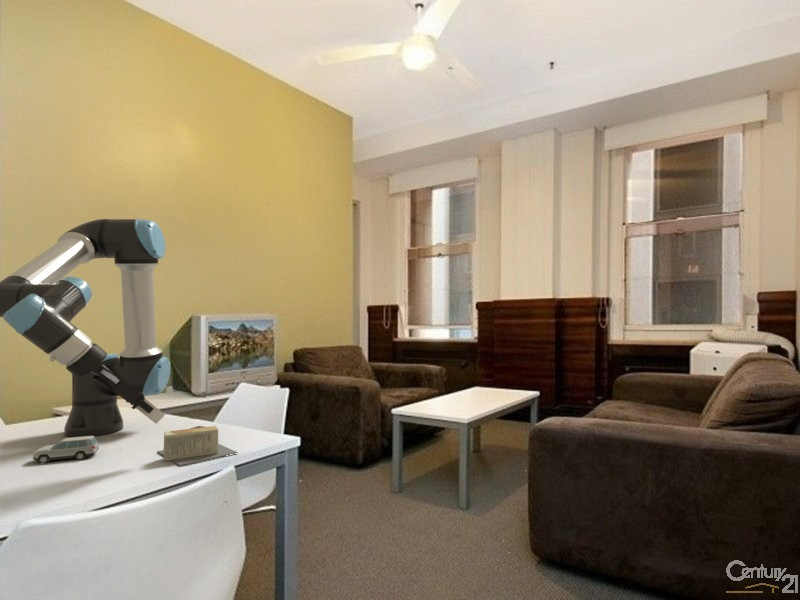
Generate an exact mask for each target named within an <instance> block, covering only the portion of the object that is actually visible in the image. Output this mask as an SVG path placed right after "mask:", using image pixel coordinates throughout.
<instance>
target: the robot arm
mask: <svg viewBox="0 0 800 600" xmlns="http://www.w3.org/2000/svg"><path fill="white" fill-rule="evenodd" d="M165 251H166V242H165V236H164V234H163V232H162V229H161V227H160V226H159V225H158V223H157V222H155V221H154V220H151V219H150V220H149V219H140V218H136V219H135V218H133V219H130V218H129V219H127V218H126V219H125V218H123V219H120V218H119V219H117V218H115V219H114V218H113V219H112V218H111V219H110V218H109V219H108V218H98V219H94V220H91V221H88V222H84V223H82V224H80V225H77V226H75V227H73V228H71V229H69V230H68V231H66V232H64V233H62V234H61V235H60V236H59V237H58V239H57V242H56V243H55V244H53V245H52V246H51V247H48V248H47V249H46V250H45V251H43V252H42V253H40V254H39V255H37V256H36V257H35V258H32V260H30V261H29V262H27V263H26V264H24V265H23V266H20V267H19V268H18V269H16V270H15V271H13V272H12V273H11V274H9V275H8V276H7V277H5V278H3V279H1V280H0V318H3V320H4V321H5V322H6V323H7V324H8V325H9V326H10V327H11V328H12V329H13V330H15V333H17V334H20V335H21V336H22V337H24V338H25V339H26V340H28V341H29V342H30V343H32V344H33V345H35V347H37V348H38V349H40V350H41V351H43V352H44V353H45V354H46V355H48V356H50V357H49V358H48V359H49V361H50V362H54V361H56V363H59V365H61V366H65V369H66V370H67V371H68V372H69V373H71V410H70V412H69V414H68V417H67V420H66V423H65V425H64V429H63V431H64V432H63V435H64V436H65V437H68V438H73V437H85V436H94V437H95V436H103V435H107V434H111V433H115V432H118V431H121V430H122V429H124V419H123V417H122V414H121V411H120V408H119V406H118V397H121V398H122V399H123V400H125V402H126V403H128V404H130V405H131V409H133V410H135V409H137V410H138V411H139V412H141V413H142V414H143V415H144V416H145V417H146V418H148V419H149V420H150V421H152V422H153V423H154V424H156V425H157V424H158V423H159V422H160V421H161V420H162V419H163V418H164V417H165V415H166V413H164V412H163V411H161V410H160V409H159V408H157V407H156V406H155V405H154V404H153V403H152V402H150V401H149V400H148V399H146V397H147V396H155V395H159V394H161V393H162V392H163V391H164V390H165V389H166V387H167V384H168V382H169V379H170V374H171V362H170V359H169V358H168V357H166V356H164V355H163V350H162V348H160V347H158V345H157V344H158V343H157V323H156V306H155V283H154V281H155V280H154V270H155V268H157V266H158V265H159V260H161V259H163V258H164V256H165V254H166V253H165ZM95 259H114V265H115V266H116V267H117V268H118V269H119V270H120V276H121V277H120V278H121V279H120V280H121V296H122V299H121V300H122V316H123V333H124V335H123V336H124V349H122V351H121V352H120V353H119V356H118V353H109V354H107V351H106V350H104V349H103V348H102V347H101V346H100V345H98V344H97V343H94V342H93V340H92V338H90V337H89V336H88V335H86V333H85V332H83V331H82V330H81V329H80V328H78V327H77V326H75V325H74V324H73V323H72V322H71V321H72V320H73V319H74V318H75V317H76V316H77V315H78V314H79V313H80V312H81V311H82V310H84V308H86V306H87V304H88V303H89V302H90V300H91V299H92V294H93V291H92V288H91V286H90V285H89V284H88V282H87V281H85V280H83V278H80V277H77V276H67V275H68V274H70V273H71V272H72V271H73V270H75V269H76V268H77V267H78V266H80V265H82V264H87V263H89V262H91V261H92V260H95ZM92 342H93V343H92Z"/></svg>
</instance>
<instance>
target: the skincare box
mask: <svg viewBox="0 0 800 600" xmlns="http://www.w3.org/2000/svg"><path fill="white" fill-rule="evenodd" d="M192 428H193V427H192ZM218 444H219V429H218V426H217V425H213V426H204V427H202V428H193V429H190V428H185V429H175V430H168V431H166V430H165V431H163V450H164V457H163V459H164V462H165V461H170V460H174V459H181V458H188V457H196V456H203V455H210V454H217V453H218Z"/></svg>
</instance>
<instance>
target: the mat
mask: <svg viewBox="0 0 800 600" xmlns="http://www.w3.org/2000/svg"><path fill="white" fill-rule="evenodd" d="M157 453H158V455H160V456H161V457H163V458H164V449H162V450H157ZM235 453H239V452H238V451H235V450H233V449H232V448H229V447H227V446H225V445H222V444H220V443H218V453H217V454H210V455H203V456H196V457H188V458H181V459H174V460H169V461H170V462H172V463H173V464H175V465H176V466H178V467H180V468H182V467H184V466H185V467H186V466H190V465H194V463H195V464H199V463H203V462H202V461H204V462H207V460H208V461H212V460H211V459H213V460H216V459H215V458H217V459H219V458H218V457H222V458H224V457H223V456H226V455H230V454H235ZM235 455H236V454H235ZM226 457H227V456H226ZM198 462H199V463H198ZM189 464H190V465H189Z"/></svg>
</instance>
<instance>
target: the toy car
mask: <svg viewBox="0 0 800 600" xmlns="http://www.w3.org/2000/svg"><path fill="white" fill-rule="evenodd" d="M99 449H100V446H99V443H98V440H97V439H96V437H95V436H85V437H66V438H64V439H61V440H60V441H59V442H57V443H56V444H50V445H44V446H41V447H40V448H38V449H36V450H35V452H34V454H33V455H32V457H33V458H32V459H33V461H35V462H36V461H38V463H39V464H40V463H44V464H48V463H49V461H55V460H57V461H58V460H64V459H65V460H66V459H67V460H68V459H75V460H76V461H81V460H85V458H87V457H90V456H93V455H94V454H96V453H97V452H98V451H99Z"/></svg>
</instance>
